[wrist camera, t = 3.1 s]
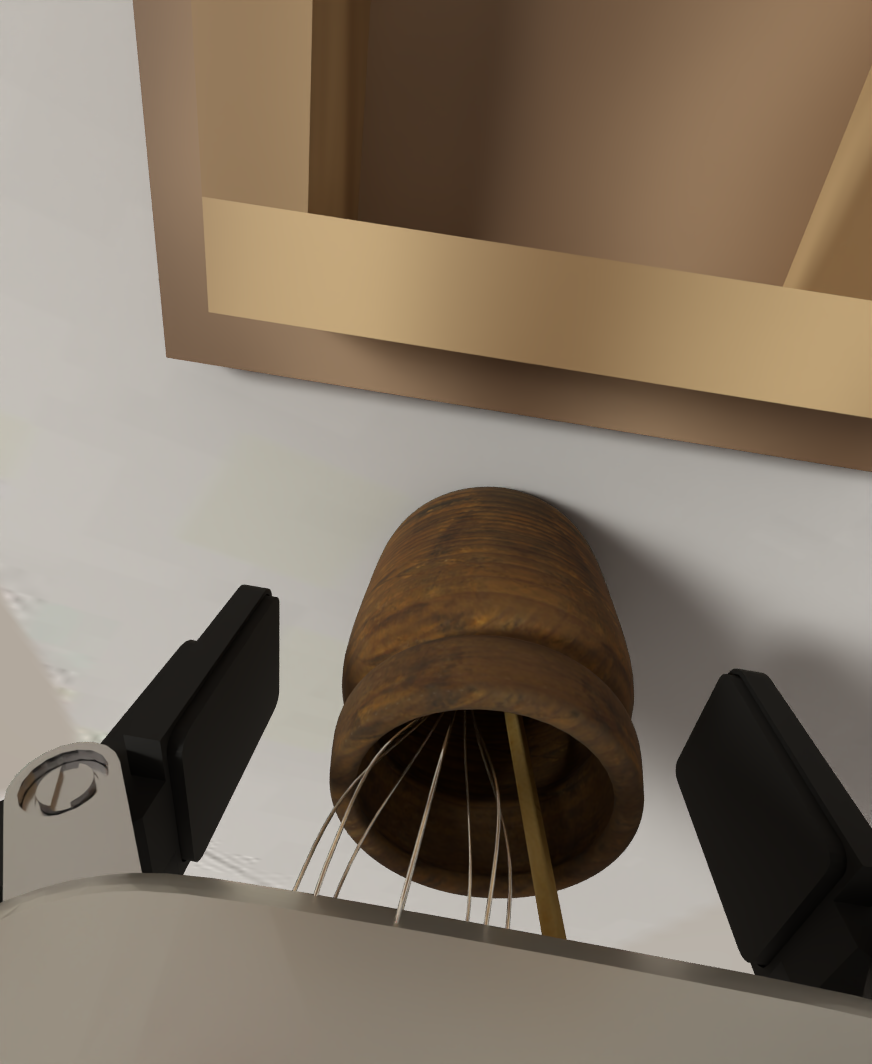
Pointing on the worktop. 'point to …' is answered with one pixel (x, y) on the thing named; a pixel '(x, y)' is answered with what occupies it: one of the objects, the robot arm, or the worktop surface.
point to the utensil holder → (487, 708)
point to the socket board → (527, 206)
